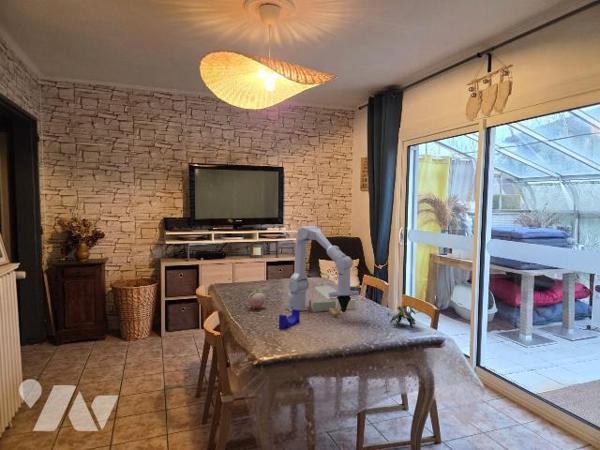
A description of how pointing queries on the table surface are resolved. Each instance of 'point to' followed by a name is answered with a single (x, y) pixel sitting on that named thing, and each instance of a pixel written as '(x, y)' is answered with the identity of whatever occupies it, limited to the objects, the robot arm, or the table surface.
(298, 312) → the blue u-shaped block
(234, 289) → the table surface
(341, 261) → the robot arm
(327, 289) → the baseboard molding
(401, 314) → the dark green branching piece
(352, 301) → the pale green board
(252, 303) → the decorative fruit
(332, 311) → the doorstop block
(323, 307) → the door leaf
